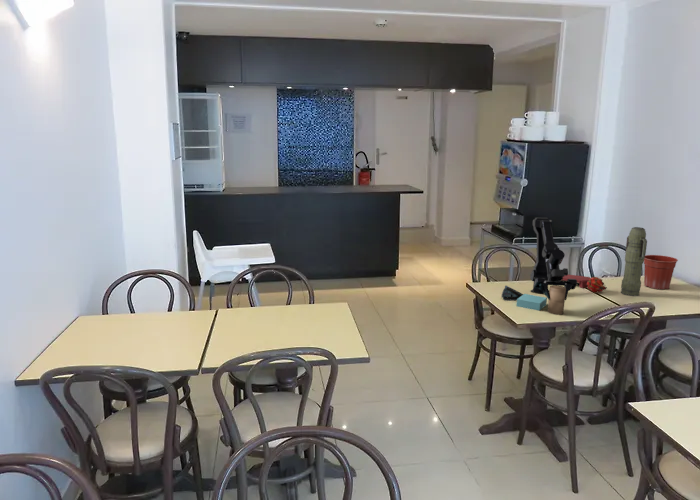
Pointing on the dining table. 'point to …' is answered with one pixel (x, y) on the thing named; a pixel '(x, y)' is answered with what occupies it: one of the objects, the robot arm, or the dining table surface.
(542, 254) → the robot arm
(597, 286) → the dragon fruit
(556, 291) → the brown vase
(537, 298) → the base block
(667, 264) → the flower pot
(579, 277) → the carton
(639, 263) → the thermos
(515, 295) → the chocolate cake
